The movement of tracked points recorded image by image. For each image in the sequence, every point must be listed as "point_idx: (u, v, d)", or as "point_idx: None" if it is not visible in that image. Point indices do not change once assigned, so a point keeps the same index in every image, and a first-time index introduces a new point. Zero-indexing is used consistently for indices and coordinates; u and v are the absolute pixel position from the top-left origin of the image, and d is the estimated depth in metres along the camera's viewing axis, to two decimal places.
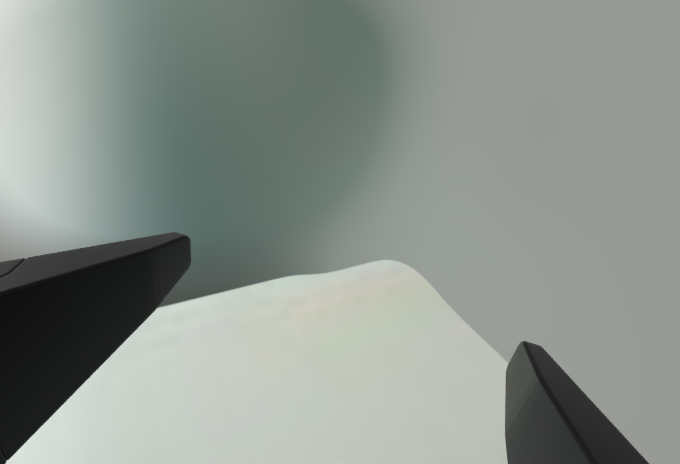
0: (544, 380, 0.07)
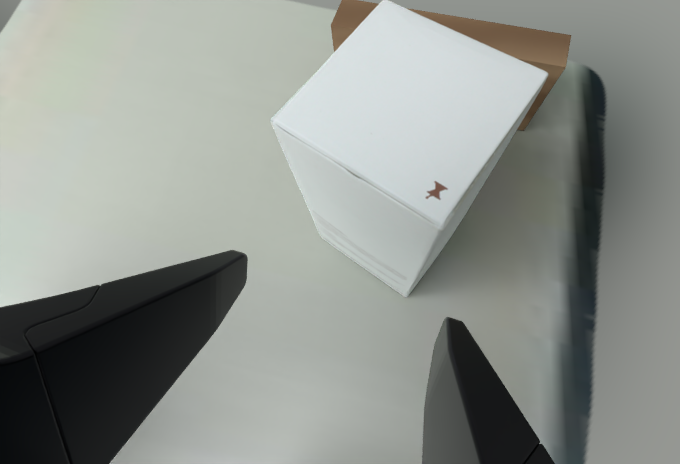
0: (451, 350, 0.07)
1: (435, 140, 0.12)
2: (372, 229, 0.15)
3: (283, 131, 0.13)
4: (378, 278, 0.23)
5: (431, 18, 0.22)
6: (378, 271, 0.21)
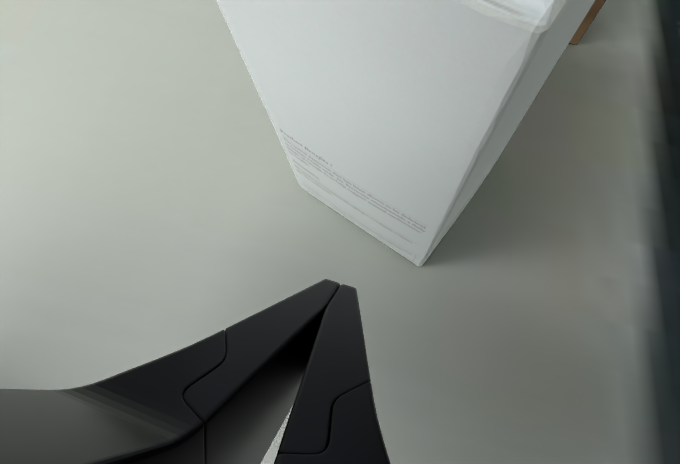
0: (327, 309, 0.08)
1: None
2: (370, 122, 0.08)
3: None
4: (380, 240, 0.16)
5: None
6: (380, 226, 0.14)
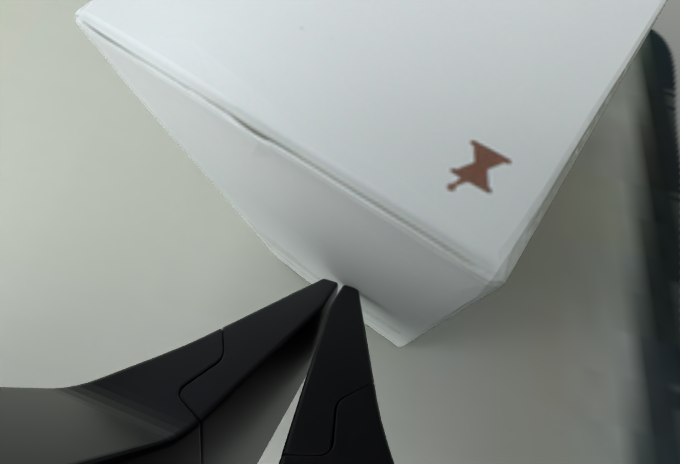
0: (330, 310, 0.08)
1: (467, 37, 0.04)
2: (330, 258, 0.08)
3: (99, 37, 0.05)
4: None
5: None
6: None
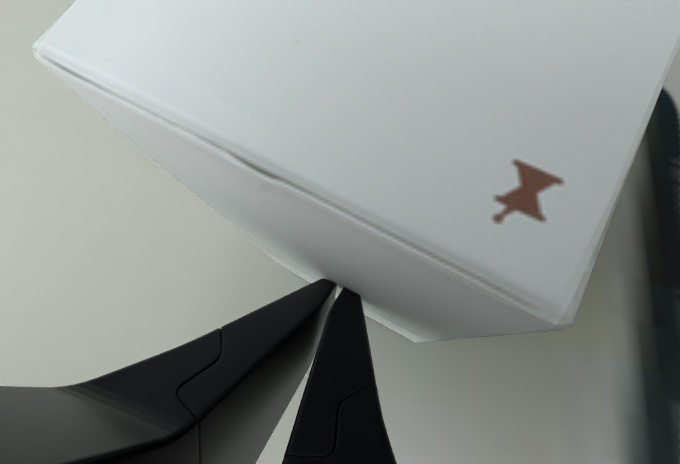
0: (331, 310, 0.08)
1: (491, 35, 0.04)
2: (345, 278, 0.07)
3: (63, 72, 0.05)
4: None
5: None
6: (370, 314, 0.13)
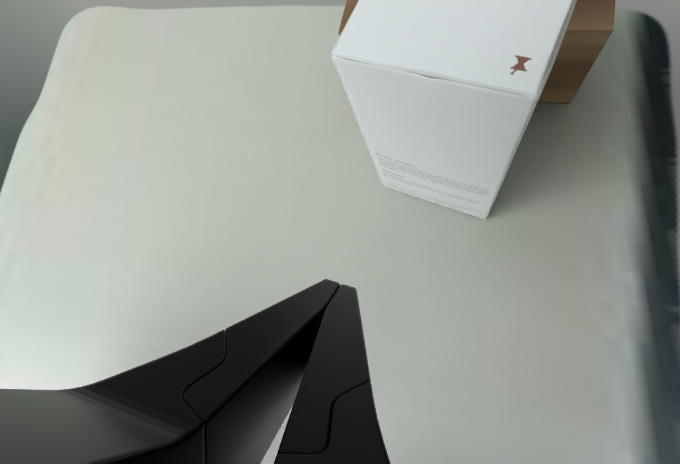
0: (327, 309, 0.08)
1: (503, 17, 0.12)
2: (449, 141, 0.15)
3: (347, 60, 0.13)
4: (452, 208, 0.23)
5: None
6: (453, 198, 0.21)
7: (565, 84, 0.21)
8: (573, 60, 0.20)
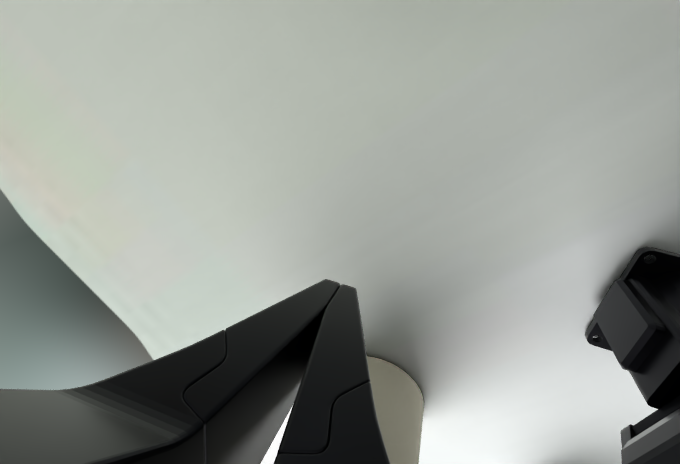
0: (327, 309, 0.08)
1: None
2: None
3: None
4: None
5: None
6: None
7: None
8: None
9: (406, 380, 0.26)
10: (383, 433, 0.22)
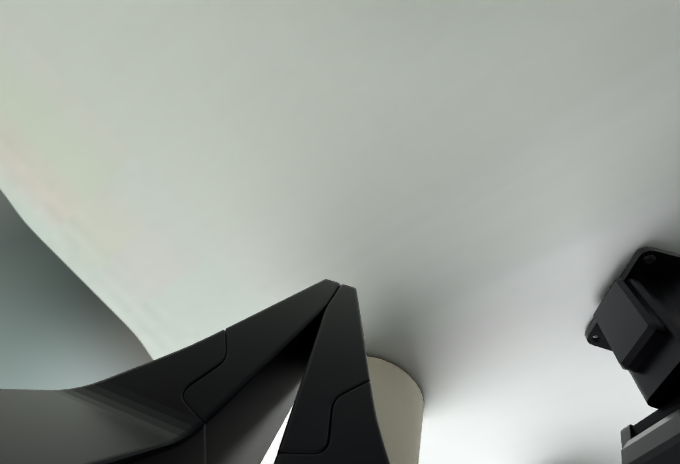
0: (327, 309, 0.08)
1: None
2: None
3: None
4: None
5: None
6: None
7: None
8: None
9: (406, 380, 0.26)
10: (383, 433, 0.22)
